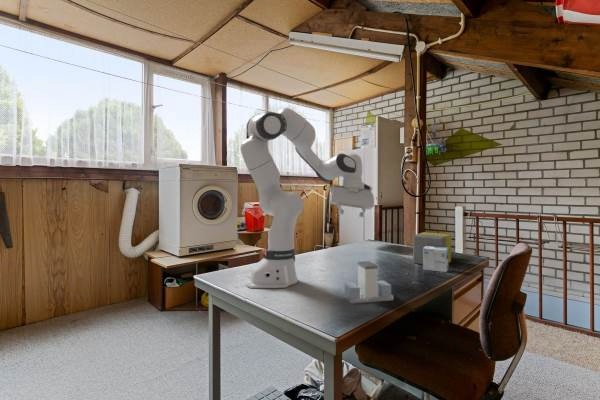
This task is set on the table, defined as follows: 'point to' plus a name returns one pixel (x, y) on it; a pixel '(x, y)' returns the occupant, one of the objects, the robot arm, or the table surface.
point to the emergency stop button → (429, 244)
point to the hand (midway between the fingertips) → (351, 215)
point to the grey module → (367, 278)
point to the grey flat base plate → (368, 298)
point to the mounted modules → (354, 290)
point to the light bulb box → (435, 258)
